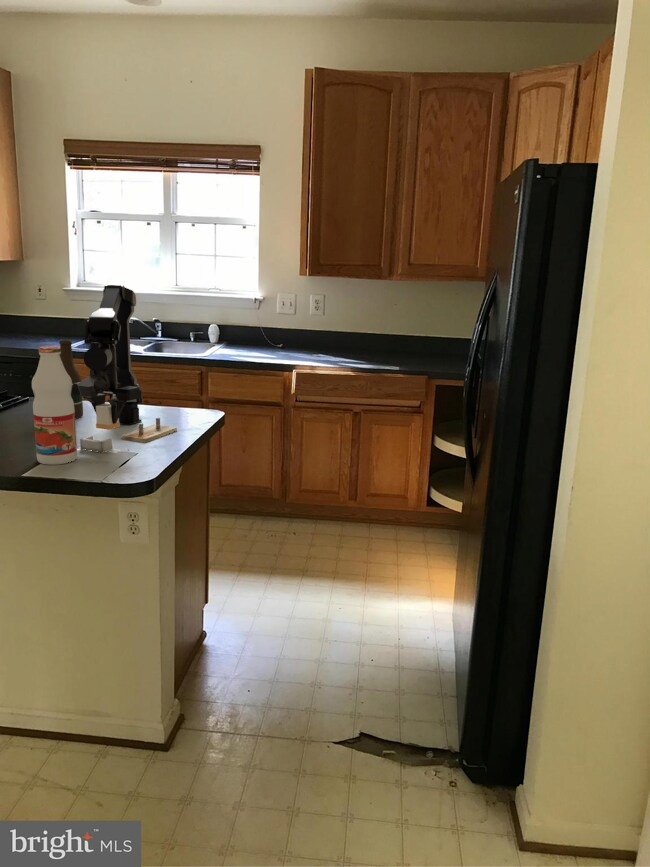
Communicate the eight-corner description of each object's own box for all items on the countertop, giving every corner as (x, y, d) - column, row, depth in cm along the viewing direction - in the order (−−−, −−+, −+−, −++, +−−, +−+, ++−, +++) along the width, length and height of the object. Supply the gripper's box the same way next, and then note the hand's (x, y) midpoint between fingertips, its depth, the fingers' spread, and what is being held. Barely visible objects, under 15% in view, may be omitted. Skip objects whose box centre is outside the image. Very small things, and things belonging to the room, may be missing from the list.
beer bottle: (88, 416, 218) (84, 339, 212) (68, 420, 211) (62, 341, 205) (72, 412, 222) (67, 337, 216) (51, 417, 215) (46, 339, 209)
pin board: (121, 439, 192) (121, 425, 191) (154, 427, 206) (153, 414, 205) (145, 442, 189) (145, 428, 188) (176, 430, 203) (176, 417, 202)
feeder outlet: (80, 449, 181) (80, 439, 180) (91, 445, 185) (90, 435, 184) (102, 452, 178) (101, 442, 178) (112, 449, 182) (111, 438, 181)
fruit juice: (83, 455, 176) (77, 345, 169) (67, 466, 166) (59, 350, 160) (48, 453, 176) (40, 344, 169) (29, 464, 167) (20, 348, 160)
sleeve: (96, 427, 183) (94, 405, 182) (106, 424, 187) (105, 402, 186) (109, 429, 182) (108, 407, 180) (119, 426, 186) (118, 404, 184)
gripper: (54, 365, 176) (58, 424, 180) (113, 371, 170) (116, 433, 174) (84, 360, 187) (87, 416, 190) (141, 365, 180) (144, 424, 184)
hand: (107, 422), depth 184 cm, fingers closed on sleeve, 4 cm apart
